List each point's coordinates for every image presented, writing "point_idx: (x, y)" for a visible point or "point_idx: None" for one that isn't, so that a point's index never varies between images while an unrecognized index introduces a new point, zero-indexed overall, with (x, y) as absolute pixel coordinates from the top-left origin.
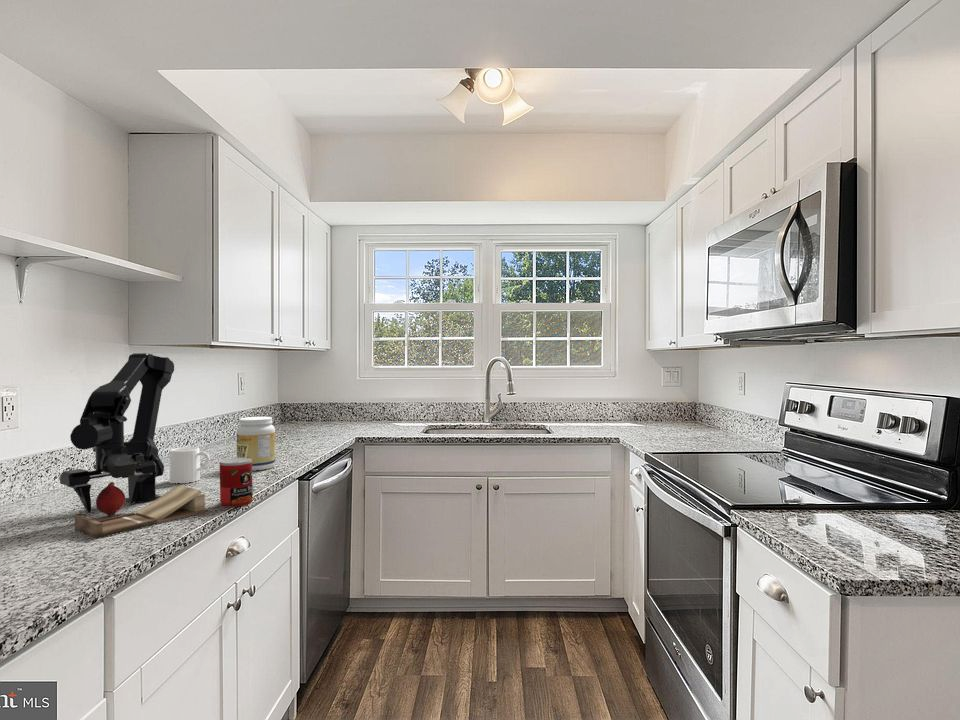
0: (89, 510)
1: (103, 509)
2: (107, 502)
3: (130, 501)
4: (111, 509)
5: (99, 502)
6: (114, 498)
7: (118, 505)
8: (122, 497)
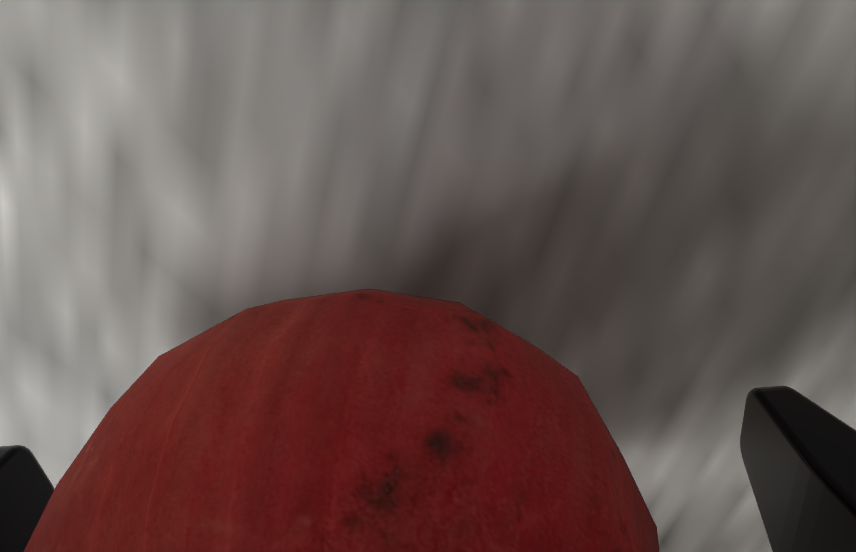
0: (808, 410)
1: (551, 358)
2: (508, 409)
3: (21, 511)
4: (411, 298)
5: (641, 531)
6: (310, 456)
7: (259, 311)
8: (83, 481)
